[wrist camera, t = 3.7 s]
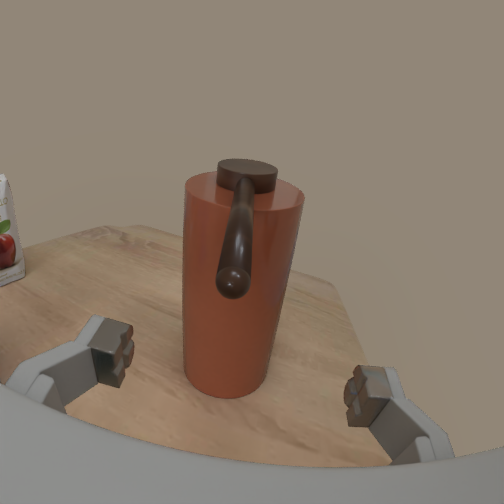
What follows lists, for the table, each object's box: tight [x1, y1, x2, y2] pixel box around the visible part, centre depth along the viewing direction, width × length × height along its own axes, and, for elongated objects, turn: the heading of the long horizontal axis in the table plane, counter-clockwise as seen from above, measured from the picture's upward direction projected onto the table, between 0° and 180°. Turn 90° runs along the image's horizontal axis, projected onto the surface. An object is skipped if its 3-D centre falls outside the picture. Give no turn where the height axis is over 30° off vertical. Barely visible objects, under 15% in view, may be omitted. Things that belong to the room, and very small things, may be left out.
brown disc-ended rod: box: [215, 159, 278, 299], centre depth 23 cm, size 21×6×2 cm, turn 179°
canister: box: [182, 171, 305, 398], centre depth 35 cm, size 11×11×24 cm
